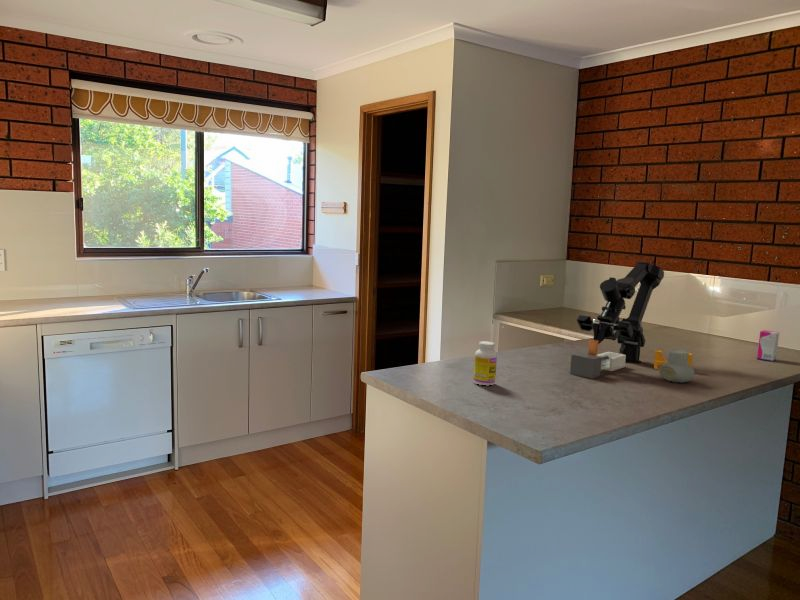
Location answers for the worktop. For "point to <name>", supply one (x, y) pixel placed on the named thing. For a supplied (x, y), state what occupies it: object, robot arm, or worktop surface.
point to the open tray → (614, 361)
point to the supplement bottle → (485, 364)
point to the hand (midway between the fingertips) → (595, 345)
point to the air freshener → (677, 367)
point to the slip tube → (593, 351)
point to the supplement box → (768, 345)
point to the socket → (585, 365)
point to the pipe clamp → (660, 360)
